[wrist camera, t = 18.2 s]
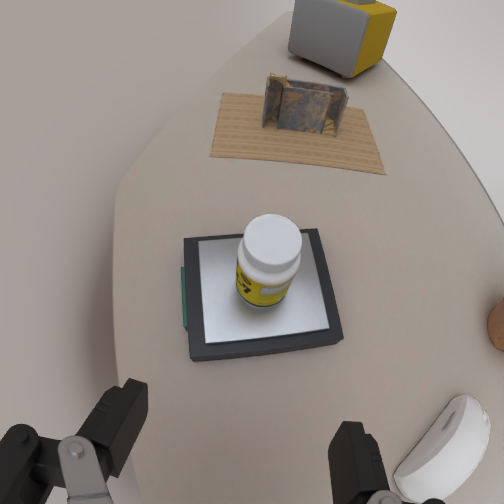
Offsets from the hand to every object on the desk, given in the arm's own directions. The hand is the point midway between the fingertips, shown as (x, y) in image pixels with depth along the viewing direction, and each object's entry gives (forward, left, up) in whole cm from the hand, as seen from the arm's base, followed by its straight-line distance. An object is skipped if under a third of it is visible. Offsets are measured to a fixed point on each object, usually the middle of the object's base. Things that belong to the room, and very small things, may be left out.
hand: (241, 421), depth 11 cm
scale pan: (+4, +11, -14) cm, 18 cm away
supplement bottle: (+4, +11, -13) cm, 18 cm away
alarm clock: (+29, +63, -17) cm, 71 cm away
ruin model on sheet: (+14, +37, -17) cm, 43 cm away
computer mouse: (+21, -10, -17) cm, 28 cm away
